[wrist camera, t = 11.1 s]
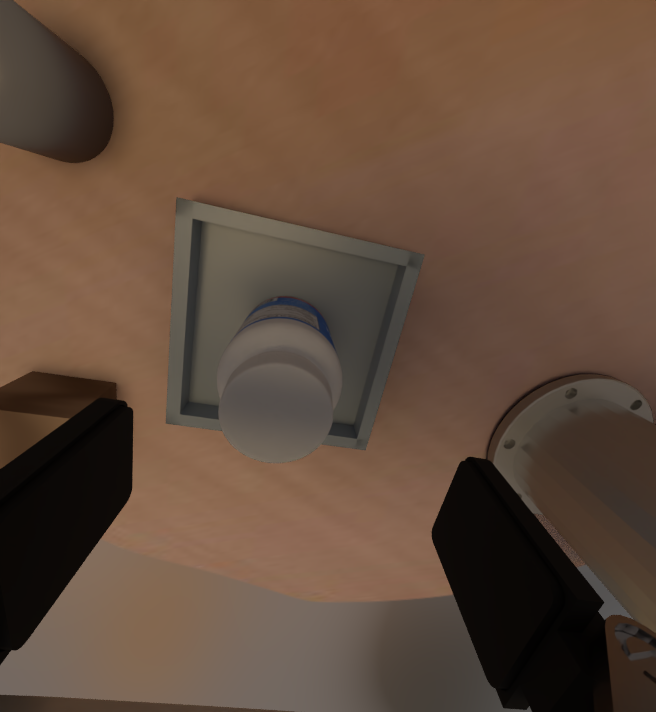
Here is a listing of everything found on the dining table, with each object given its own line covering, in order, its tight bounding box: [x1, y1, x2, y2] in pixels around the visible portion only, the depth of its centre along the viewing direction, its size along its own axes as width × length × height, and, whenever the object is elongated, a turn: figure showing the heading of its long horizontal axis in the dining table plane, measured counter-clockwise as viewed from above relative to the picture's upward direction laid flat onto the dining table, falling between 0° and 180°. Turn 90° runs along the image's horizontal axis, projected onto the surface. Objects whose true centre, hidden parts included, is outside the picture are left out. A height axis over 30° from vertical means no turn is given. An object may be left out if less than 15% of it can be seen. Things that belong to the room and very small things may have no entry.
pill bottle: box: [217, 296, 342, 463], centre depth 16 cm, size 6×5×10 cm
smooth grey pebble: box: [0, 0, 114, 163], centre depth 13 cm, size 5×5×5 cm
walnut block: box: [0, 371, 117, 469], centre depth 20 cm, size 5×5×4 cm
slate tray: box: [166, 198, 424, 450], centre depth 20 cm, size 13×13×2 cm
